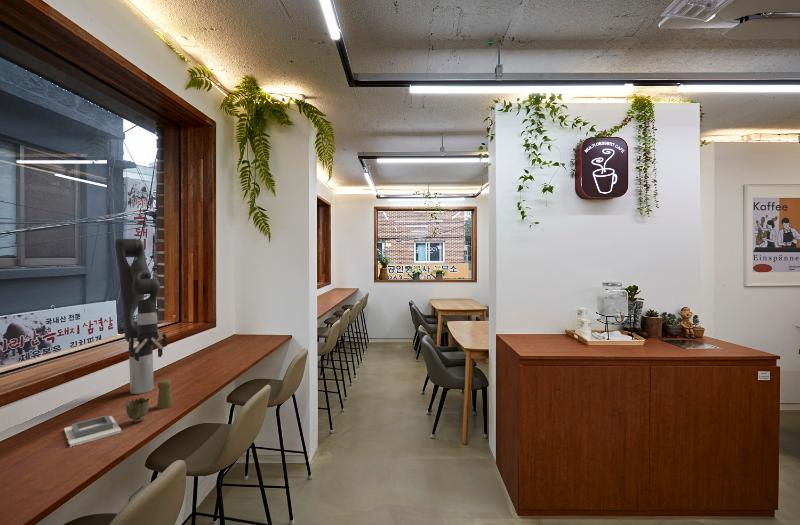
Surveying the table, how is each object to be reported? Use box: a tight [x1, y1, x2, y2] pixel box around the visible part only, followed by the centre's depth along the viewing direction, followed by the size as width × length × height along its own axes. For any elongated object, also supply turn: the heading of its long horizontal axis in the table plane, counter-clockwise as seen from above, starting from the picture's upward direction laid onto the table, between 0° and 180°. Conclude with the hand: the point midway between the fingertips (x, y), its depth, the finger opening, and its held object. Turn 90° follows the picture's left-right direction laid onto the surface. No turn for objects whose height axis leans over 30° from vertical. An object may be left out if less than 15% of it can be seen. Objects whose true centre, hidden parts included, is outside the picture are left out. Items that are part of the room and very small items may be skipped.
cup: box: [125, 397, 150, 424], centre depth 145 cm, size 8×7×8 cm
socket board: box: [63, 414, 122, 448], centre depth 137 cm, size 18×14×3 cm
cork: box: [156, 379, 174, 410], centre depth 160 cm, size 6×6×11 cm
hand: (148, 358), depth 169 cm, fingers open, 8 cm apart
